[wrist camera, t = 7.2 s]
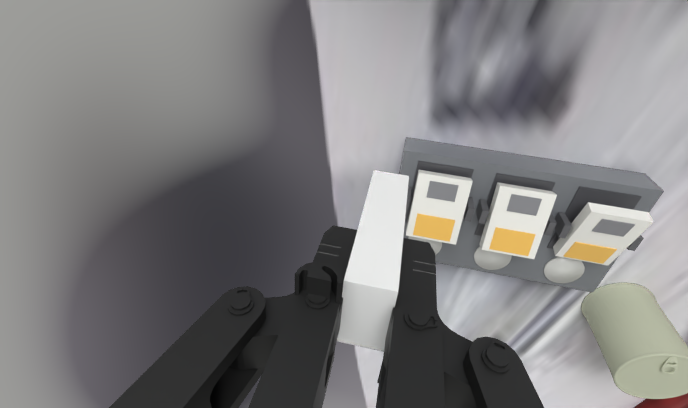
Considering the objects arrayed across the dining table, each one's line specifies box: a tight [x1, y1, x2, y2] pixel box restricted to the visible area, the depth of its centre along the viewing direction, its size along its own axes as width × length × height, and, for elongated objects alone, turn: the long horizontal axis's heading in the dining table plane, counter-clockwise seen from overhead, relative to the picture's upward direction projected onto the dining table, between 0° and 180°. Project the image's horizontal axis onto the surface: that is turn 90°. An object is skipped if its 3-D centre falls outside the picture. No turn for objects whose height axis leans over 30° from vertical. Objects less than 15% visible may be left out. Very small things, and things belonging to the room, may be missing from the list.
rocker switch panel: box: [399, 137, 664, 292], centre depth 45 cm, size 16×28×7 cm, turn 85°
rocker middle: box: [479, 182, 557, 259], centre depth 41 cm, size 8×6×2 cm
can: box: [581, 283, 688, 399], centre depth 47 cm, size 9×9×12 cm
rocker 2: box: [553, 202, 654, 266], centre depth 40 cm, size 8×6×2 cm
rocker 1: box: [406, 170, 473, 245], centre depth 42 cm, size 8×6×2 cm
